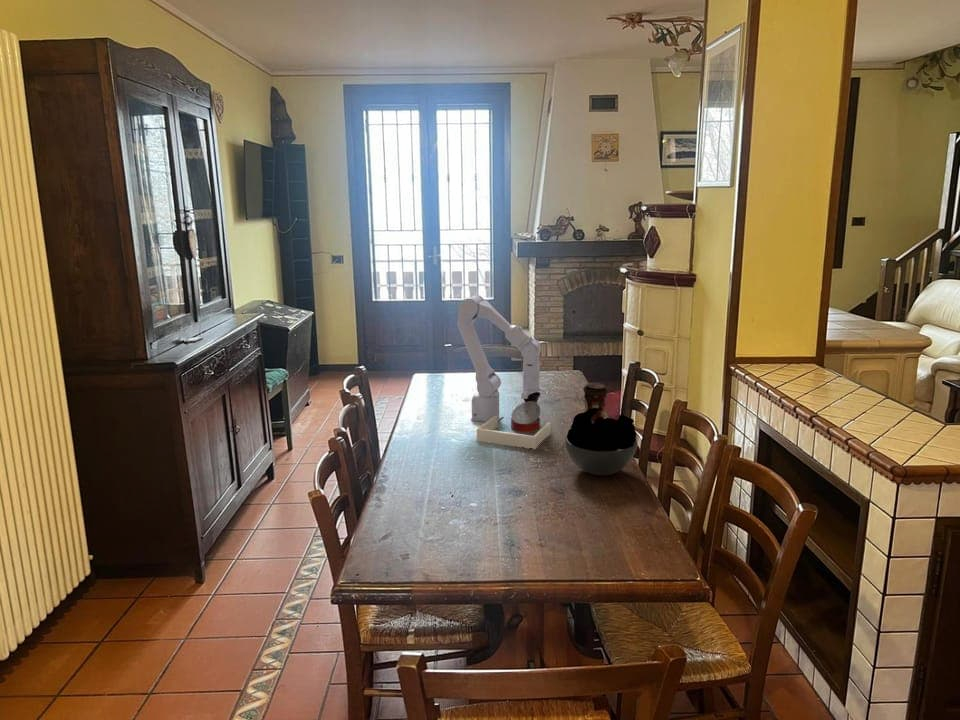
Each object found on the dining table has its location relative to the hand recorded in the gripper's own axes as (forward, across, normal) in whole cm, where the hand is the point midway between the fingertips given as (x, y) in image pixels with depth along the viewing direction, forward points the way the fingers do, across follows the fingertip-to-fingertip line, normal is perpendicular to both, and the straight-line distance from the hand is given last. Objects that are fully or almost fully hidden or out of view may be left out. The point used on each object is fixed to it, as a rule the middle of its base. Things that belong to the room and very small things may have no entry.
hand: (531, 413), depth 234 cm
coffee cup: (+4, +10, -20) cm, 23 cm away
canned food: (+4, -6, 0) cm, 7 cm away
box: (+3, -16, 0) cm, 16 cm away
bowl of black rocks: (+4, -34, -33) cm, 47 cm away
